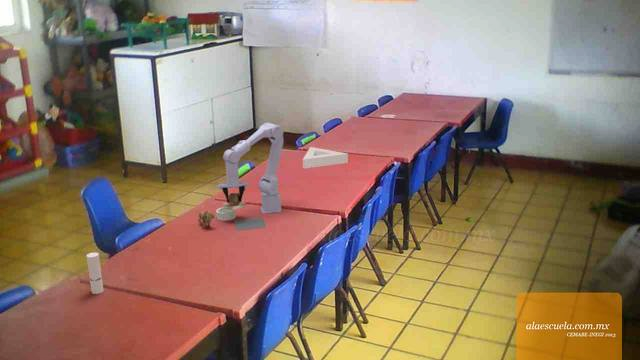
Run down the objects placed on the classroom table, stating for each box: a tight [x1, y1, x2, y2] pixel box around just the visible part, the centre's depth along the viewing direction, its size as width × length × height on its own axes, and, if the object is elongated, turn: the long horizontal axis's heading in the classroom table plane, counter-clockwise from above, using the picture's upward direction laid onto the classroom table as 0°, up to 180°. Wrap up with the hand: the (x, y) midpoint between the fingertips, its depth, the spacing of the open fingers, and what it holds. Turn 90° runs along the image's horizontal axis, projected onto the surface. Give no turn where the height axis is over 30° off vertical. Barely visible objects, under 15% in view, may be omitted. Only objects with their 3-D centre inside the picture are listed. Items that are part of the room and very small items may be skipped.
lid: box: [222, 192, 247, 211], centre depth 311 cm, size 11×11×6 cm
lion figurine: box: [197, 210, 216, 230], centre depth 306 cm, size 15×5×9 cm, turn 37°
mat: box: [233, 216, 268, 232], centre depth 308 cm, size 14×14×1 cm
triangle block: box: [302, 146, 349, 169], centre depth 406 cm, size 30×26×6 cm
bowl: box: [215, 206, 237, 222], centre depth 317 cm, size 9×9×4 cm
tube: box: [86, 252, 104, 295], centre depth 244 cm, size 4×4×15 cm
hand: (234, 202), depth 311 cm, fingers closed on lid, 5 cm apart
